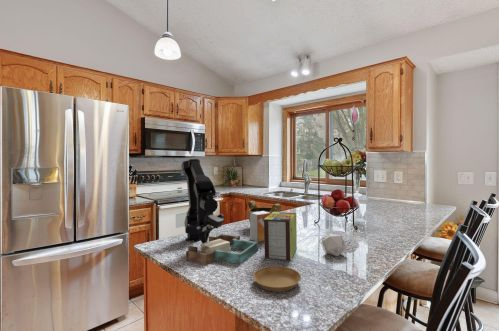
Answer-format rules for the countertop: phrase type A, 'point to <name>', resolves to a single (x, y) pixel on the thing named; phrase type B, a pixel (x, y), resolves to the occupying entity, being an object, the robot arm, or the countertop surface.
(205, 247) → the cream block
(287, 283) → the plant saucer
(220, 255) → the box
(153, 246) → the countertop surface
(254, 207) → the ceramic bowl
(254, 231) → the small box
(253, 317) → the countertop surface
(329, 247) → the white faceted lump
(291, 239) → the protein box
